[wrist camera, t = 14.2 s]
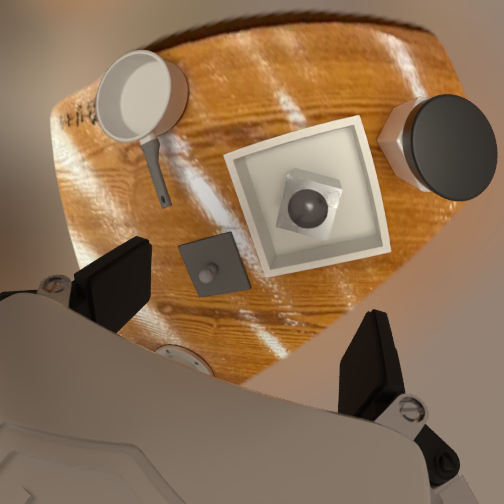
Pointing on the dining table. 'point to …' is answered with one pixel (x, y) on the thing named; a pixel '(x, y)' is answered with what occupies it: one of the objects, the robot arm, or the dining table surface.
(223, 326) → the dining table surface
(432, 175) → the jar
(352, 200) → the bin
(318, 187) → the metal block
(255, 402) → the robot arm
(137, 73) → the saucepan
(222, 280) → the ball stud
